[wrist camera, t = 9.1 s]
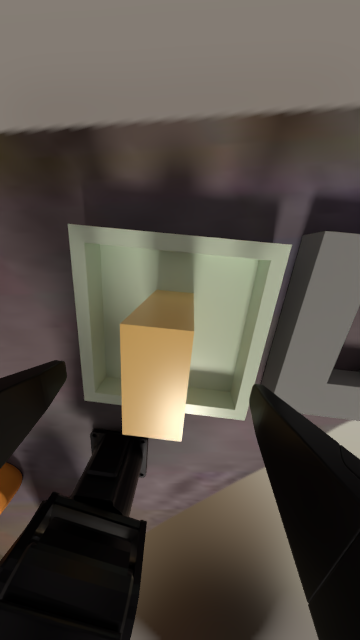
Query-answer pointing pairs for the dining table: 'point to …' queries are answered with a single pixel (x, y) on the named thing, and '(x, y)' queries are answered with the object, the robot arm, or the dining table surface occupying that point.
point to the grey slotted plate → (318, 329)
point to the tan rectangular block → (156, 365)
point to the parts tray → (181, 276)
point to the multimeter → (8, 484)
